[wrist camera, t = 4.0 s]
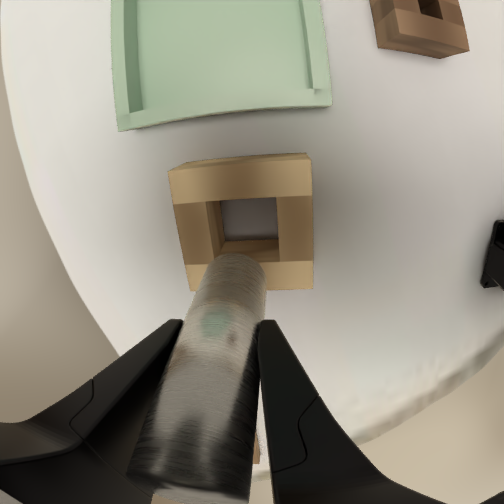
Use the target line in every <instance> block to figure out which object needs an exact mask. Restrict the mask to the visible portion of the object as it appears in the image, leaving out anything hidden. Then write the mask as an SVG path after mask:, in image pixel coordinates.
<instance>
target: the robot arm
mask: <svg viewBox="0 0 504 504" xmlns="http://www.w3.org/2000/svg"><path fill="white" fill-rule="evenodd" d="M499 226H500V227H499ZM485 282H486V283H485ZM481 286H482V287H483V288H490V287H497V286H500V288H501V289H502V290H503V291H504V220H498V221H497V222H496V223H495V225H494V230H493V235H492V240H491V245H490V249H489V254H488V258H487V262H486V265H485V269H484V273H483V276H482V280H481ZM183 322H184V321H183V320H181V319H170V320H168V321H167V322H166V323H164V324H163V325H162V326H160V327H159V328H158V329H156V330H155V331H154V332H152V333H151V334H150V335H149V336H147V337H146V338H145V339H143V340H142V341H141V342H139V343H138V344H137V345H135V346H134V347H133V348H131V349H130V350H129V351H127V352H126V353H125V354H123V355H122V356H121V357H119V358H118V359H117V360H115V361H114V362H113V363H111V364H110V365H109V366H108V367H106V368H105V369H104V370H102V371H101V372H100V373H98V374H97V375H95V376H94V377H93V379H90V380H89V381H87V382H86V383H85V384H83V385H82V386H81V387H79V388H78V389H76V390H75V391H74V392H72V393H71V394H69V395H68V396H66V397H64V398H63V399H61V400H60V401H58V402H57V403H55V404H53V405H52V406H50V407H48V408H47V409H45V410H43V411H42V412H40V413H38V414H37V415H35V416H33V417H32V418H30V419H28V420H25V421H22V422H18V423H2V422H0V504H151V501H152V496H153V493H151V492H149V491H147V490H145V489H143V488H141V487H139V486H138V485H136V484H134V483H133V482H132V481H130V480H129V479H128V478H127V476H126V471H127V468H128V465H129V462H130V460H131V457H132V454H133V451H134V448H135V446H136V443H137V440H138V437H139V434H140V432H141V429H142V426H143V424H144V421H145V418H146V416H147V413H148V410H149V408H150V405H151V402H152V400H153V397H154V394H155V392H156V389H157V387H158V384H159V382H160V379H161V376H162V374H163V371H164V369H165V366H166V364H167V361H168V359H169V356H170V354H171V351H172V349H173V346H174V344H175V341H176V339H177V337H178V334H179V332H180V329H181V327H182V324H183ZM258 361H259V371H260V381H261V392H262V401H263V411H264V420H265V430H266V439H267V448H268V457H269V466H270V476H271V484H272V494H273V503H274V504H446V503H443V502H441V501H438V500H436V499H433V498H430V497H428V496H425V495H423V494H421V493H418V492H416V491H414V490H411V489H409V488H407V487H405V486H402V485H400V484H398V483H396V482H394V481H392V480H390V479H389V478H387V477H386V476H385V475H383V474H382V473H381V472H380V471H379V470H378V469H377V468H376V467H375V466H374V465H373V464H372V463H371V462H370V460H369V459H368V458H367V457H366V456H365V455H364V454H363V452H361V450H360V449H359V448H358V447H357V446H356V444H355V443H354V442H353V441H352V440H351V439H350V437H349V436H348V435H347V434H346V433H345V431H344V430H343V429H342V428H341V426H340V425H339V424H338V423H337V421H336V420H335V419H334V417H333V416H332V414H331V413H330V411H329V409H328V408H327V406H326V405H325V403H324V402H323V400H322V398H321V397H320V396H319V393H318V392H317V390H316V388H315V387H314V385H313V383H312V382H311V380H310V378H309V377H308V375H307V373H306V372H305V370H304V368H303V367H302V365H301V363H300V362H299V360H298V358H297V356H296V355H295V353H294V351H293V350H292V348H291V346H290V345H289V343H288V341H287V339H286V338H285V336H284V334H283V333H282V331H281V329H280V328H279V326H278V324H277V322H276V321H275V320H262V321H261V324H260V331H259V339H258ZM480 504H504V491H502V492H500V493H498V494H497V495H495V496H493V497H491V498H489V499H487V500H486V501H484V502H482V503H480Z"/></svg>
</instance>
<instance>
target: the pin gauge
mask: <svg viewBox="0 0 504 504" xmlns="http://www.w3.org/2000/svg"><path fill="white" fill-rule="evenodd" d="M266 288H267V278H266V274H265V272H264V270H263V268H262V267H261V265H260V264H259V263H258V262H257V261H255V260H254V259H253V258H251V257H249V256H247V255H244V254H239V253H227V254H223V255H220V256H218V257H216V258H215V259H213V260H212V261H211V262H210V263H209V265H208V266H207V268H206V271H205V273H204V275H203V277H202V280H201V282H200V284H199V287H198V289H197V291H196V294H195V296H194V298H193V301H192V303H191V305H190V308H189V310H188V312H187V315H186V317H185V320H184V322H183V324H182V327H181V329H180V332H179V334H178V337H177V339H176V341H175V344H174V346H173V349H172V351H171V354H170V356H169V359H168V361H167V364H166V366H165V369H164V371H163V374H162V376H161V379H160V382H159V384H158V387H157V389H156V392H155V394H154V397H153V400H152V402H151V405H150V408H149V410H148V413H147V416H146V418H145V421H144V424H143V426H142V429H141V432H140V434H139V437H138V440H137V443H136V446H135V448H134V451H133V454H132V457H131V460H130V462H129V465H128V468H127V471H126V476H127V478H128V479H129V480H130V481H132V482H133V483H134V484H136V485H138V486H139V487H141V488H143V489H145V490H147V491H149V492H151V493H153V494H156V495H159V496H161V497H164V498H167V499H170V500H174V501H177V502H180V503H185V504H248V503H249V496H250V487H251V476H252V466H253V455H254V444H255V433H256V422H257V410H258V398H259V385H260V371H259V361H258V339H259V331H260V324H261V321H262V320H264V318H265V303H266Z"/></svg>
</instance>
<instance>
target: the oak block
mask: <svg viewBox="0 0 504 504" xmlns="http://www.w3.org/2000/svg"><path fill="white" fill-rule="evenodd" d="M168 177H169V183H170V189H171V195H172V201H173V207H174V213H175V218H176V224H177V229H178V234H179V239H180V244H181V249H182V254H183V259H184V264H185V268H186V273H187V278H188V282H189V286H190V291H197V289H198V287H199V284H200V282H201V280H202V277H203V275H204V273H205V271H206V268H207V266H208V265H209V263H210V262H211V261H212V260H213V259H215V258H216V257H218V256H220V255H223V254H227V253H239V254H244V255H247V256H249V257H251V258H253V259H254V260H255V261H257V262H258V263H259V264H260V265H261V267H262V268H263V270H264V272H265V274H266V278H267V288H266V290H292V289H313V202H312V172H311V159H310V158H309V156H308V155H307V154H306V153H287V154H268V155H254V156H241V157H230V158H220V159H211V160H202V161H194V162H186V163H184V164H182V165H180V166H178V167H176V168H174V169H172V170H170V171H168ZM265 197H276V204H277V220H278V237H279V239H268V240H245V241H225V237H224V230H223V222H222V215H221V207H220V200H233V199H248V198H265Z"/></svg>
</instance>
